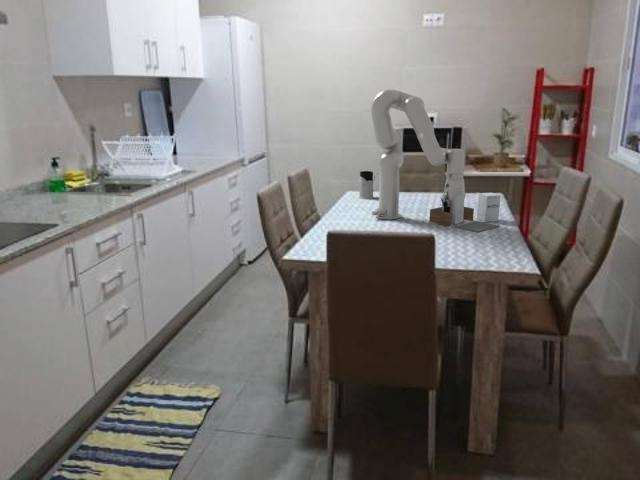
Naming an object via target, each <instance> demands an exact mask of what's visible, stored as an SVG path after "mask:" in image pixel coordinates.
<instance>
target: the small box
mask: <svg viewBox="0 0 640 480" xmlns="http://www.w3.org/2000/svg"><path fill="white" fill-rule="evenodd" d="M443 195H444V193H443V194H442V196H443ZM464 197H465V198H466V196H465V195H457V196H454V202H451V203H450V205H449V207H450V213H452V224H454V225H456V224H460V223H463V222H464V220H463V215H464V207H465V199H464ZM447 200H449V199H447ZM447 203H448V202H447ZM441 207H442V211H443V212H444V206H443V204H442V203H441Z"/></svg>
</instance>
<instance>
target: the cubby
mask: <svg viewBox="0 0 640 480" xmlns="http://www.w3.org/2000/svg"><path fill="white" fill-rule="evenodd" d="M474 211H475V208H473V207H469V206H468V207H467V206H464V215H463V221H464V220H465V221H469V222H474ZM429 222H430V223H432V224H437V225H442V226H447V227H452V224H453V223H452V213H448V212H443V211H442V206H439V207H434V208H431V209H429Z"/></svg>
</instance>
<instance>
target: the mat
mask: <svg viewBox="0 0 640 480" xmlns="http://www.w3.org/2000/svg"><path fill="white" fill-rule="evenodd" d="M498 227H500V224H495V223H489V222H483V221H481V220H475V221H474V220H473V221H469V222H466V223H463V224H459V225H455V226H454V228H457V229H461V230H466V231H470V232H474V233H481V232H485V231H488V230H492V229H496V228H498Z"/></svg>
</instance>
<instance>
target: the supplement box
mask: <svg viewBox="0 0 640 480" xmlns="http://www.w3.org/2000/svg"><path fill="white" fill-rule="evenodd" d="M477 197H478V199H477V210H476V211H477V212H476V220H477V221H480V222H485V223H489V222H499V219H500V218H499V217H500V207H501V205H500V204H501V194H498V193H494V192H482V193H478V196H477Z"/></svg>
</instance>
